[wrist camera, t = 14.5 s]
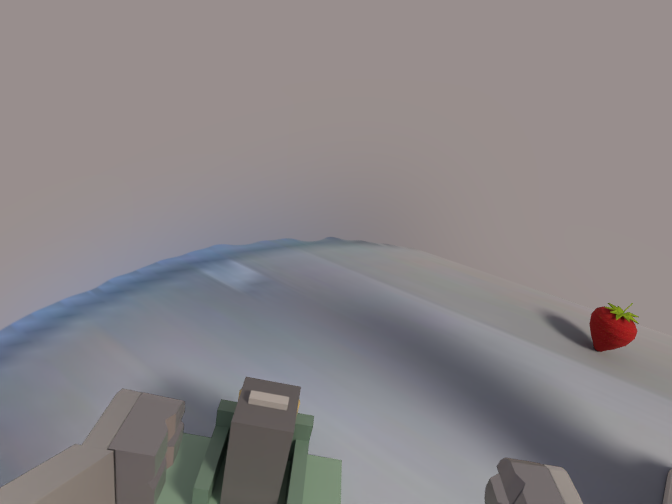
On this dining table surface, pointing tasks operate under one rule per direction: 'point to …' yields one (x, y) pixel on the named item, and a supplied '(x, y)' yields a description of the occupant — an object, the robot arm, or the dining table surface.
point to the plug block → (259, 442)
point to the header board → (210, 458)
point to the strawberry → (612, 328)
